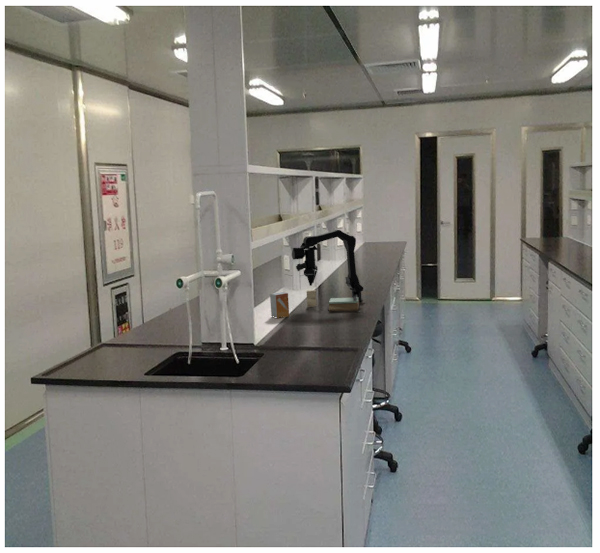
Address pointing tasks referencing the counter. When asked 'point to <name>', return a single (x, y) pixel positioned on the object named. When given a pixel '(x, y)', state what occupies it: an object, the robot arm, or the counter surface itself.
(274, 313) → the small box
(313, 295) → the brown wooden block
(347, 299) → the lid
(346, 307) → the open wooden tray
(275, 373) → the counter surface
